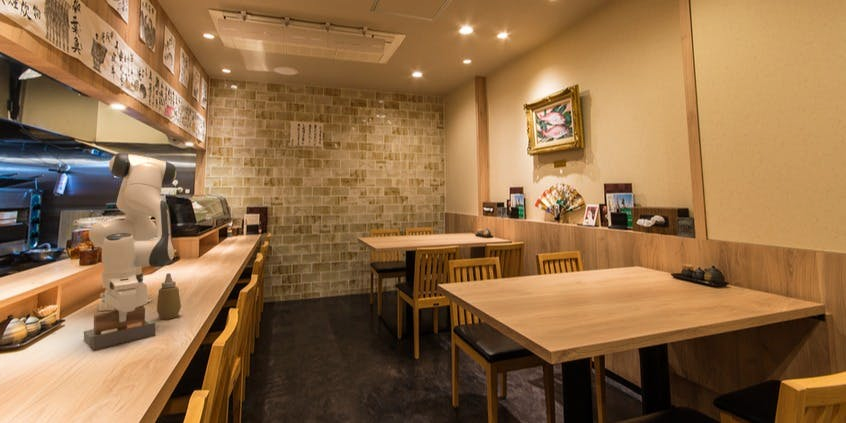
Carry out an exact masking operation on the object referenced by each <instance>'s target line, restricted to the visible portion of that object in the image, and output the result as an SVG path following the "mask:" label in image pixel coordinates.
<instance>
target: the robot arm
mask: <svg viewBox="0 0 846 423" xmlns="http://www.w3.org/2000/svg"><path fill="white" fill-rule="evenodd" d="M108 166H109V170H110V173H111V175H112V176H114V177H116V178H118V179H122V182H121V185H120V189H119V192H118V195H117V198H116V199H117V200H116V201H115V202H116V203H115V205H116V207H117V209H118V210H119V211H120V212H122V213H124V214H125V217H124V219H117V220H105V221H101V222H96V223H94V224H92V225H91V227H90V228H89V231H88V238H89V241H91V243H92V244H94V245H96V246H97V247H99V248H100V249H101V262H102V265H103V269H102V273H101V282H102V283H101V285H102V288H103V289H105V291H104V292H101V293H99V299H102V301H101V300H100V301H99V302H98V309H97V310H98V312H104V311H112V312H113V311H118V312H119V317H118V321H119V322H125V321H126V315H127V312H131V311H134V310H135V307H141V306H146V304H148V302H149V303H151V302H153V299H152V298H149V294H148V285H147V284H146V283H144V273H143V272H142V269H143V267H157V268H160V267H161V268H162V267H163V268H164V267H165V266H167V265H169V264H170V263H171V262H172V261H173V259H174V257H175V249H174V243H173V236H172V235H173V234H172V222H171V212H170V208H169V205H168V203H167V201H164V200H163V199H162V194H161V193H162V186H163V187H164V186H165V187H166V186H169V185H172V184H173V182H174V181H175V180H176V177H177V169H176V166H175V164H173V163H171V162H169V161H163V160H160V159H156V158H153V157H149V156H143V155H136V154H129V153H127V152H118V153H115V154H114V156H113V157H111V159H110V161H109V164H108ZM150 216H151V217H153V218H155V222H154V221H152V219H151V218H150ZM155 237H156V238H155Z"/></svg>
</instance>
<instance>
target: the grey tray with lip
mask: <svg viewBox="0 0 846 423" xmlns="http://www.w3.org/2000/svg"><path fill="white" fill-rule="evenodd" d="M155 336H156V322H148V321H146V320H145V325H141V326H136V327H132V328H128V329H121V330H117V331H114V332H110V333H105V334H101V335H100V334H98V335H95V333H94V328H93V329H88V330H85V331H83V340H84V342H85V343H86V344H87V345H88V346H89V347H90V348H91V350H92V351H94V352H96V351H100V350H103V349H108V348H113V347H115V346H120V345H124V344H127V343H131V342H135V341H139V340H144V339H148V338H151V337H155Z"/></svg>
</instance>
